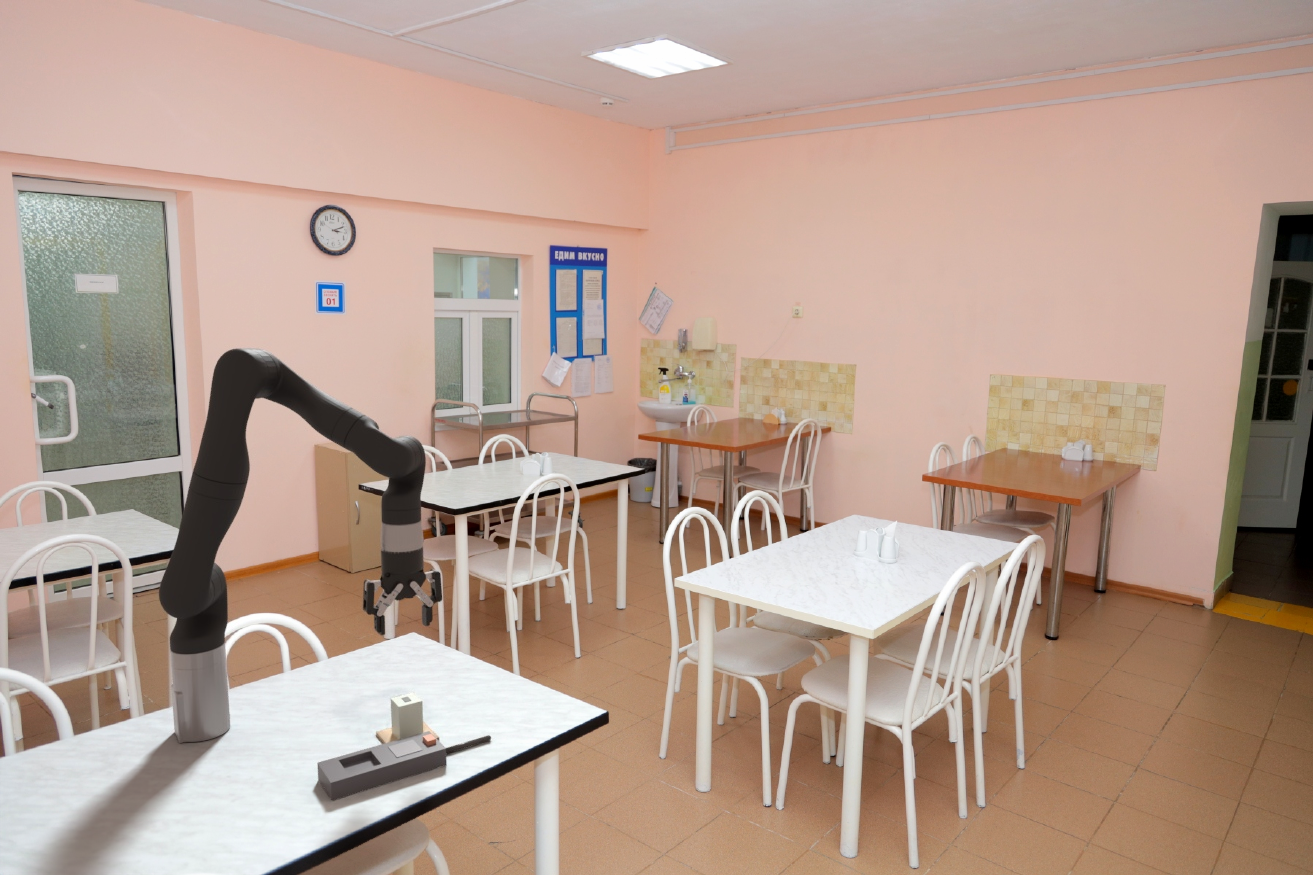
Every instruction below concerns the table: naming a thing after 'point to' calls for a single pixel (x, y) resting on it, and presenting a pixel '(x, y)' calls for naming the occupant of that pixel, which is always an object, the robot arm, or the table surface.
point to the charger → (406, 715)
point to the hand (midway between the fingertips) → (403, 629)
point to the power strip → (385, 764)
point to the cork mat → (389, 737)
